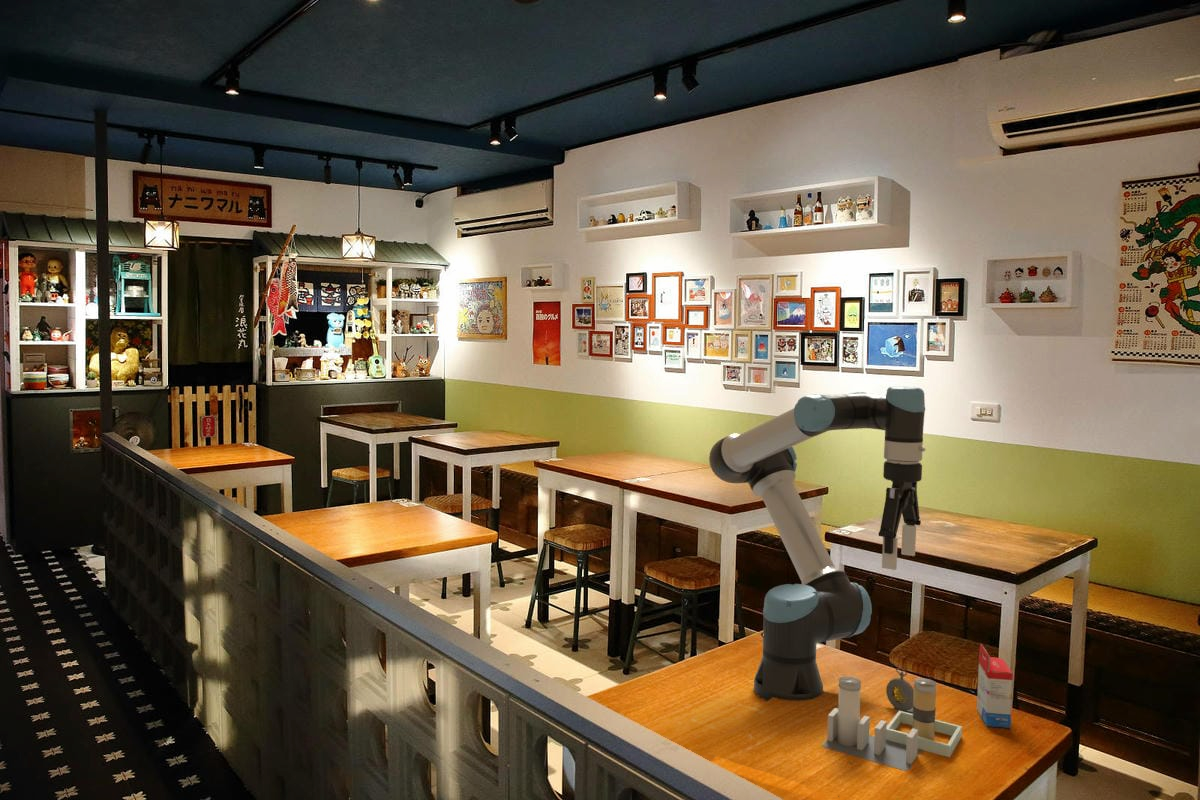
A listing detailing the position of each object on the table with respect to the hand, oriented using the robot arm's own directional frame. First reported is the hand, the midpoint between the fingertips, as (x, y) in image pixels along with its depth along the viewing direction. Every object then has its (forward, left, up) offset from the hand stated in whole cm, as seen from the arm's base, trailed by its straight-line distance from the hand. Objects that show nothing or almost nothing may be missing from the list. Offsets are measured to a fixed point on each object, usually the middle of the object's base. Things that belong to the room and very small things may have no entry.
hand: (898, 561), depth 177 cm
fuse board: (+2, -22, -33) cm, 39 cm away
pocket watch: (+2, +2, -33) cm, 33 cm away
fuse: (-3, -22, -31) cm, 38 cm away
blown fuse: (+9, -12, -32) cm, 35 cm away
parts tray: (+9, -12, -33) cm, 36 cm away
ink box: (+18, +9, -33) cm, 38 cm away
